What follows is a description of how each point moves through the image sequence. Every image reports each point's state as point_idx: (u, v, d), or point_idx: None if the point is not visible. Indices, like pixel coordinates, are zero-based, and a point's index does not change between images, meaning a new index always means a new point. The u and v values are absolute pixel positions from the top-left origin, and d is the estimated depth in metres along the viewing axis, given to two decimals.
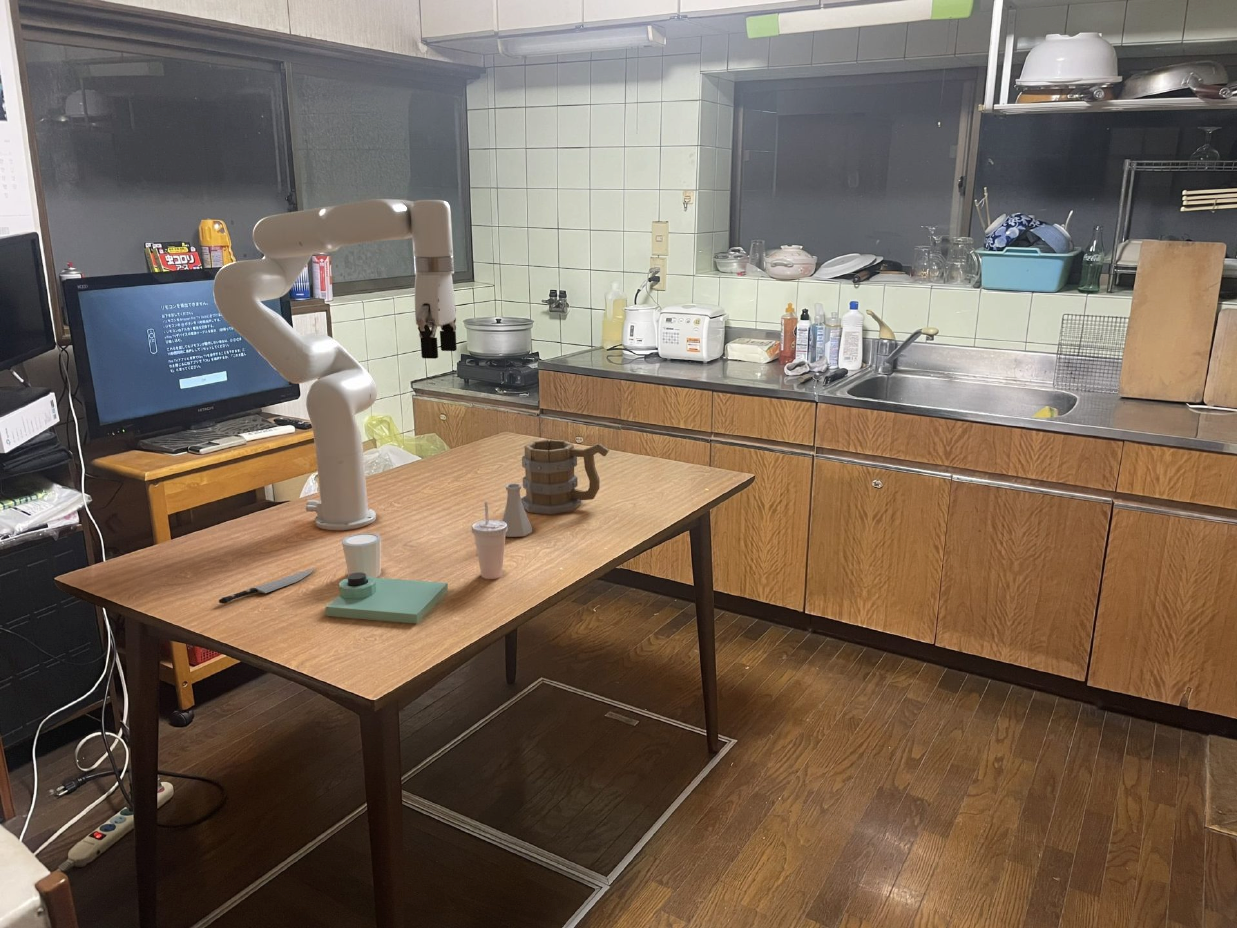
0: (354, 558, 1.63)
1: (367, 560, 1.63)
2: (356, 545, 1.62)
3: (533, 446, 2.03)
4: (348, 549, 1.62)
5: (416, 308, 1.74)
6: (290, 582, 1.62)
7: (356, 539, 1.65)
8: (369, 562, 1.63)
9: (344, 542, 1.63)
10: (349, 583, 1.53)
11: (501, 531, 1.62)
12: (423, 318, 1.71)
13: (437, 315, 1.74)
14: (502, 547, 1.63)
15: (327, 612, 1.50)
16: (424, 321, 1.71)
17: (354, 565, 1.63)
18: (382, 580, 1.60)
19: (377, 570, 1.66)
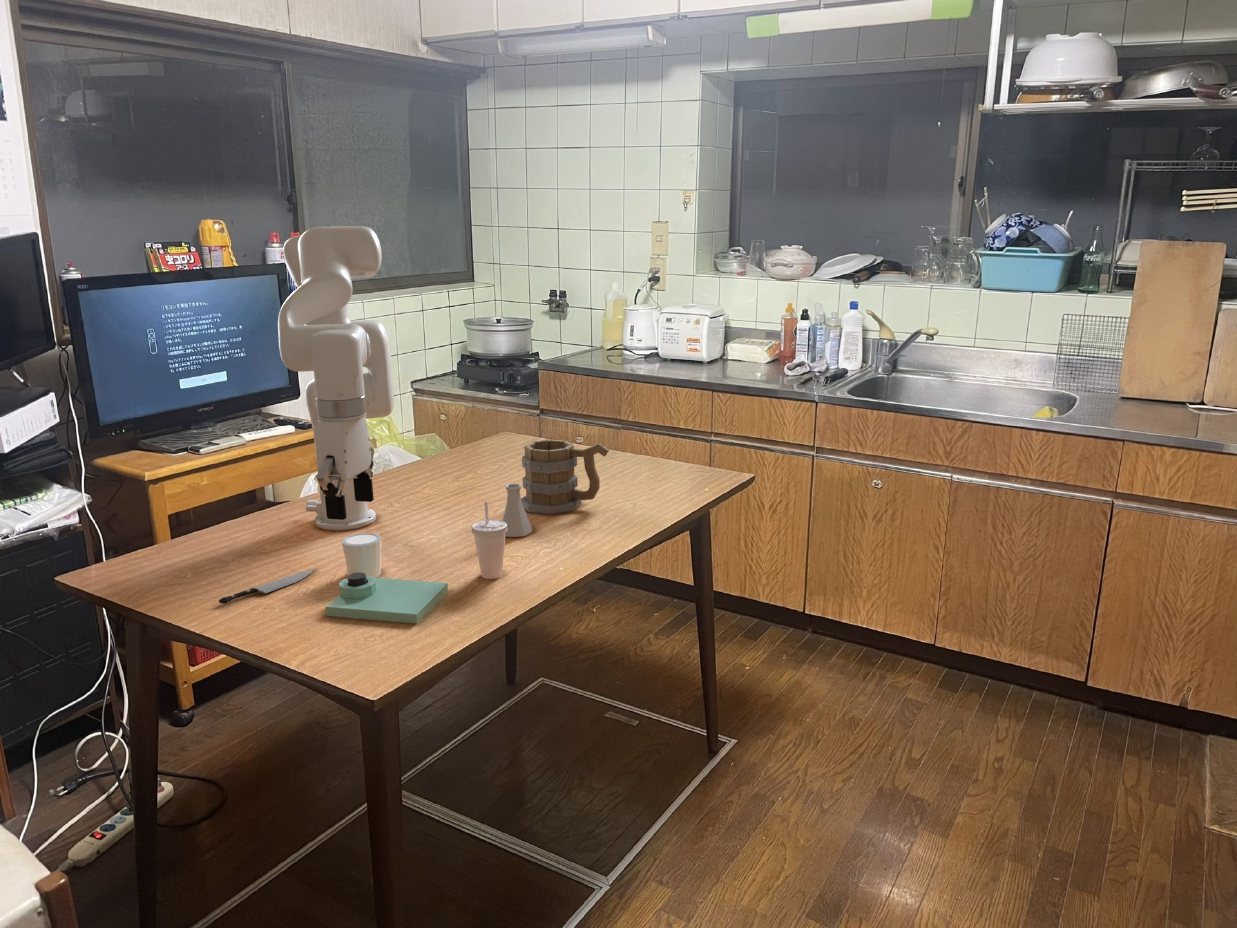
0: (354, 558, 1.63)
1: (367, 560, 1.63)
2: (356, 545, 1.62)
3: (533, 446, 2.03)
4: (348, 549, 1.62)
5: (318, 460, 1.44)
6: (290, 582, 1.62)
7: (356, 539, 1.65)
8: (369, 562, 1.63)
9: (344, 542, 1.63)
10: (349, 583, 1.53)
11: (501, 531, 1.62)
12: (325, 477, 1.41)
13: (343, 469, 1.44)
14: (502, 547, 1.63)
15: (327, 612, 1.50)
16: (326, 479, 1.42)
17: (354, 565, 1.63)
18: (382, 580, 1.60)
19: (377, 570, 1.66)
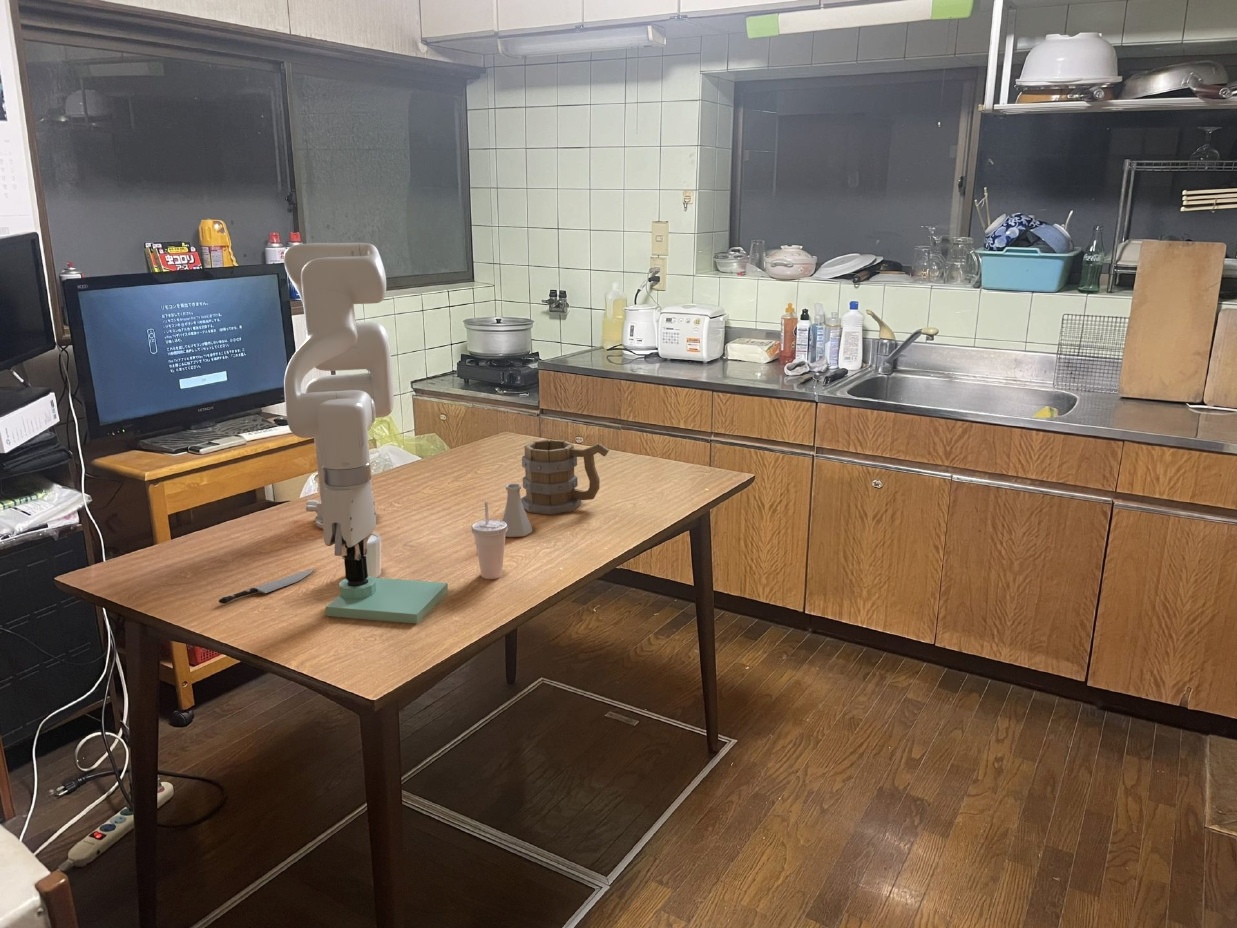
0: None
1: (367, 560, 1.63)
2: None
3: (533, 446, 2.03)
4: None
5: (324, 527, 1.47)
6: (290, 582, 1.62)
7: None
8: (369, 562, 1.63)
9: None
10: None
11: (501, 531, 1.62)
12: (343, 552, 1.48)
13: (349, 536, 1.47)
14: (502, 547, 1.63)
15: (327, 612, 1.50)
16: (344, 552, 1.48)
17: None
18: (382, 580, 1.60)
19: (377, 570, 1.66)
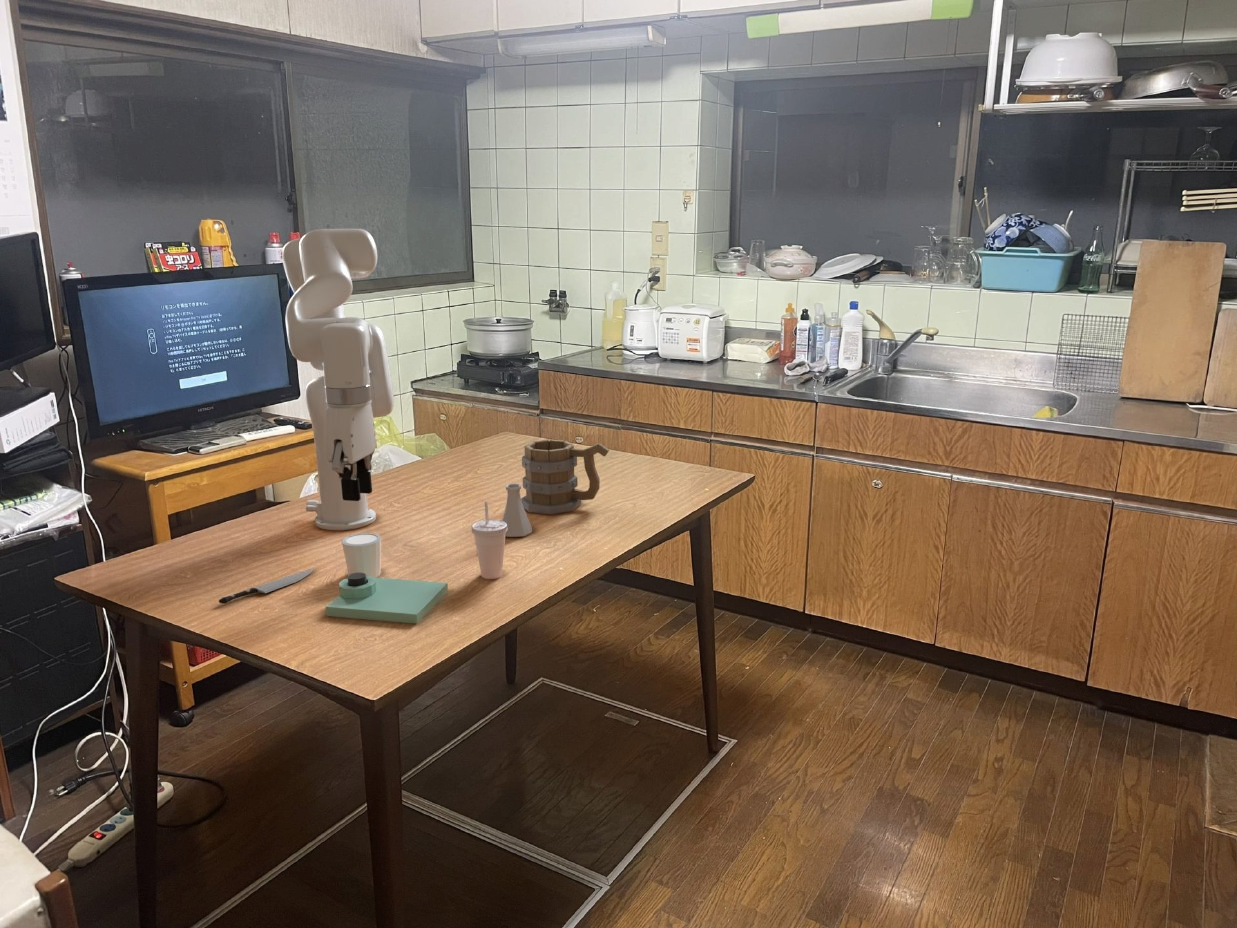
0: (354, 558, 1.63)
1: (367, 560, 1.63)
2: (356, 545, 1.62)
3: (533, 446, 2.03)
4: (348, 549, 1.62)
5: (327, 444, 1.56)
6: (290, 582, 1.62)
7: (356, 539, 1.65)
8: (369, 562, 1.63)
9: (344, 542, 1.63)
10: (349, 583, 1.53)
11: (501, 531, 1.62)
12: (340, 466, 1.55)
13: (350, 452, 1.55)
14: (502, 547, 1.63)
15: (327, 612, 1.50)
16: (341, 468, 1.55)
17: (354, 565, 1.63)
18: (382, 580, 1.60)
19: (377, 570, 1.66)
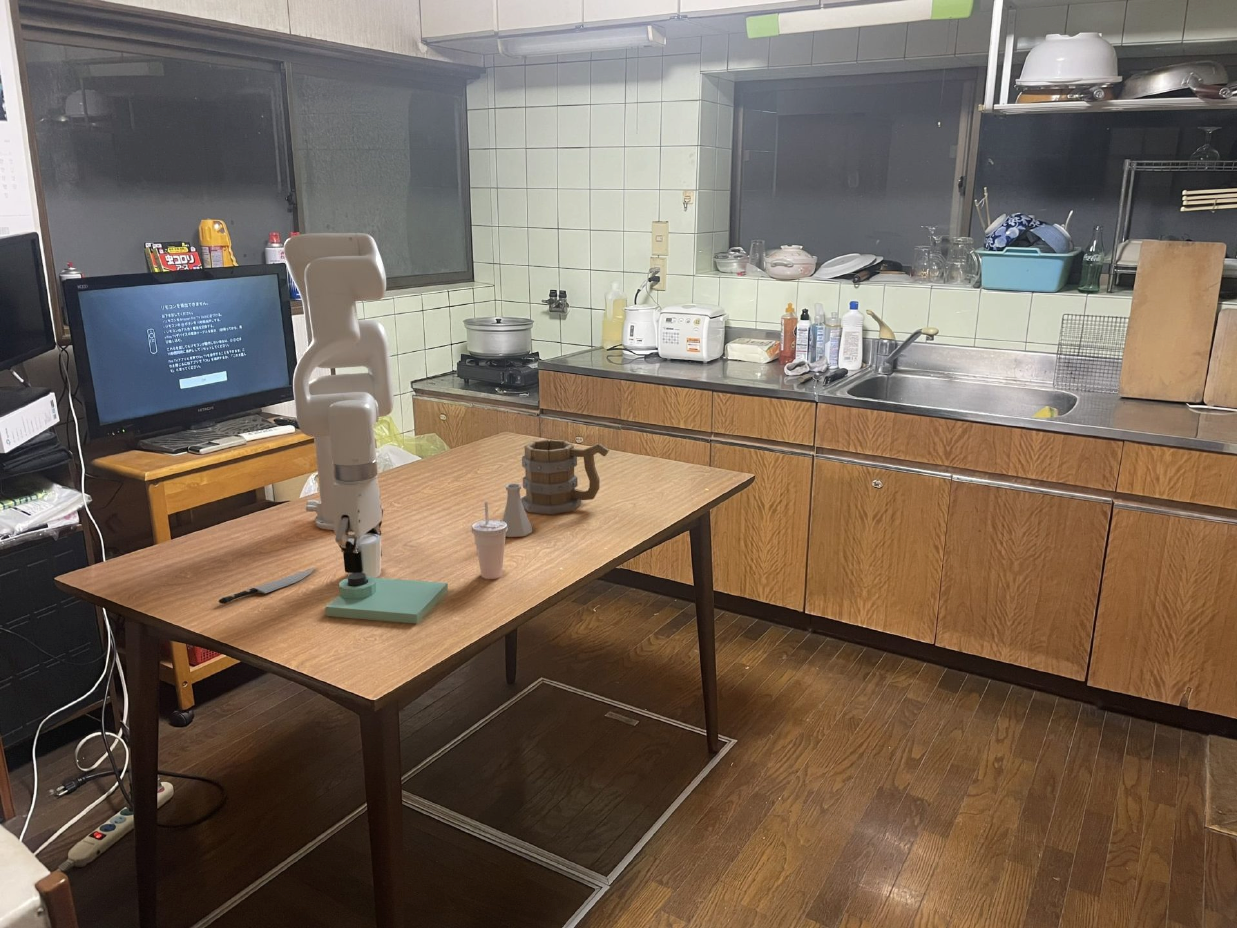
0: None
1: (367, 560, 1.63)
2: None
3: (533, 446, 2.03)
4: None
5: (334, 519, 1.59)
6: (290, 582, 1.62)
7: None
8: (369, 562, 1.63)
9: None
10: (349, 583, 1.53)
11: (501, 531, 1.62)
12: (343, 538, 1.57)
13: (357, 527, 1.59)
14: (502, 547, 1.63)
15: (327, 612, 1.50)
16: (344, 540, 1.58)
17: None
18: (382, 580, 1.60)
19: (377, 570, 1.66)
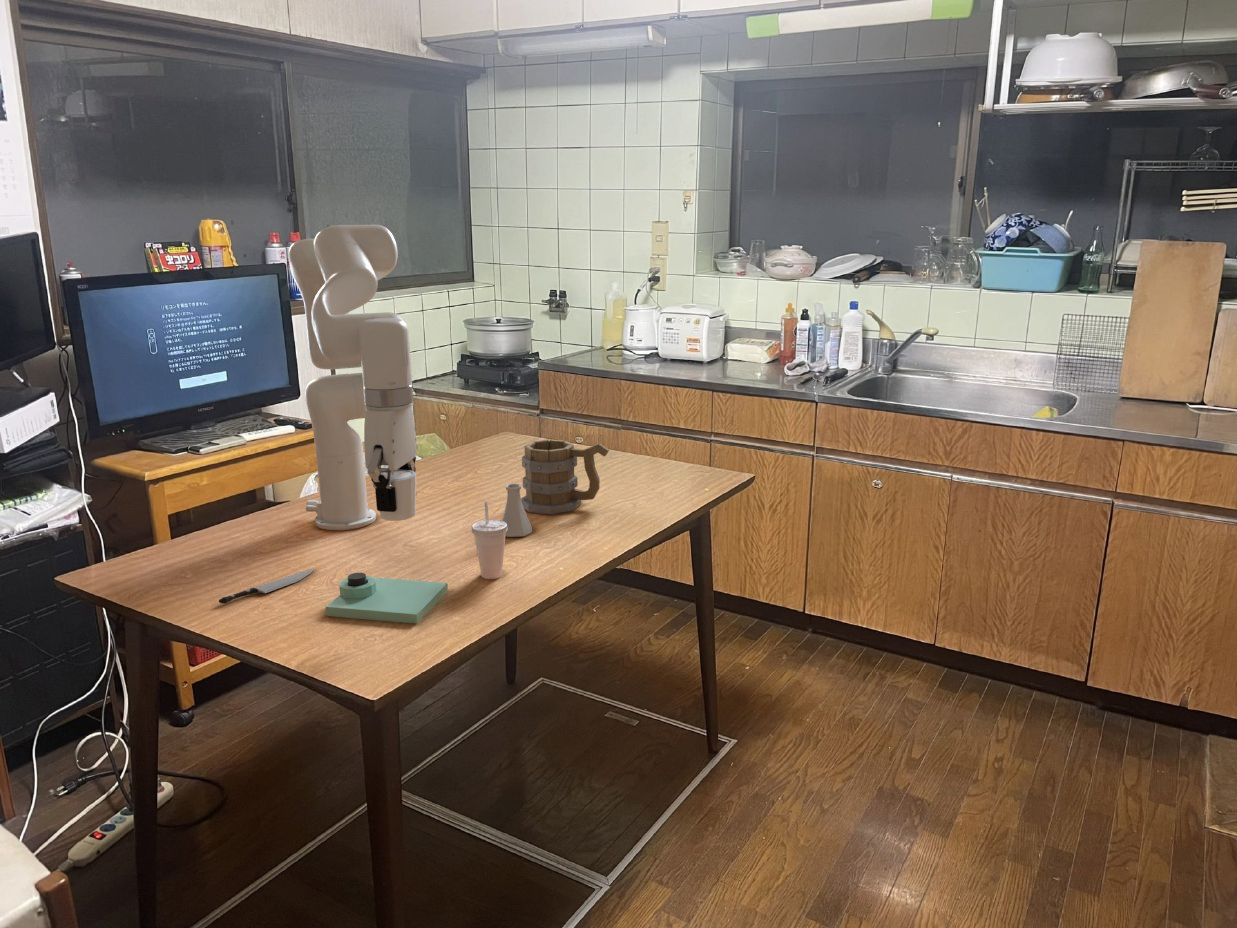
0: None
1: (401, 497, 1.47)
2: None
3: (533, 446, 2.03)
4: None
5: (366, 450, 1.43)
6: (290, 582, 1.62)
7: None
8: (404, 500, 1.47)
9: None
10: (349, 583, 1.53)
11: (501, 531, 1.62)
12: (376, 471, 1.41)
13: (391, 459, 1.43)
14: (502, 547, 1.63)
15: (327, 612, 1.50)
16: (377, 473, 1.41)
17: None
18: (382, 580, 1.60)
19: (412, 509, 1.49)
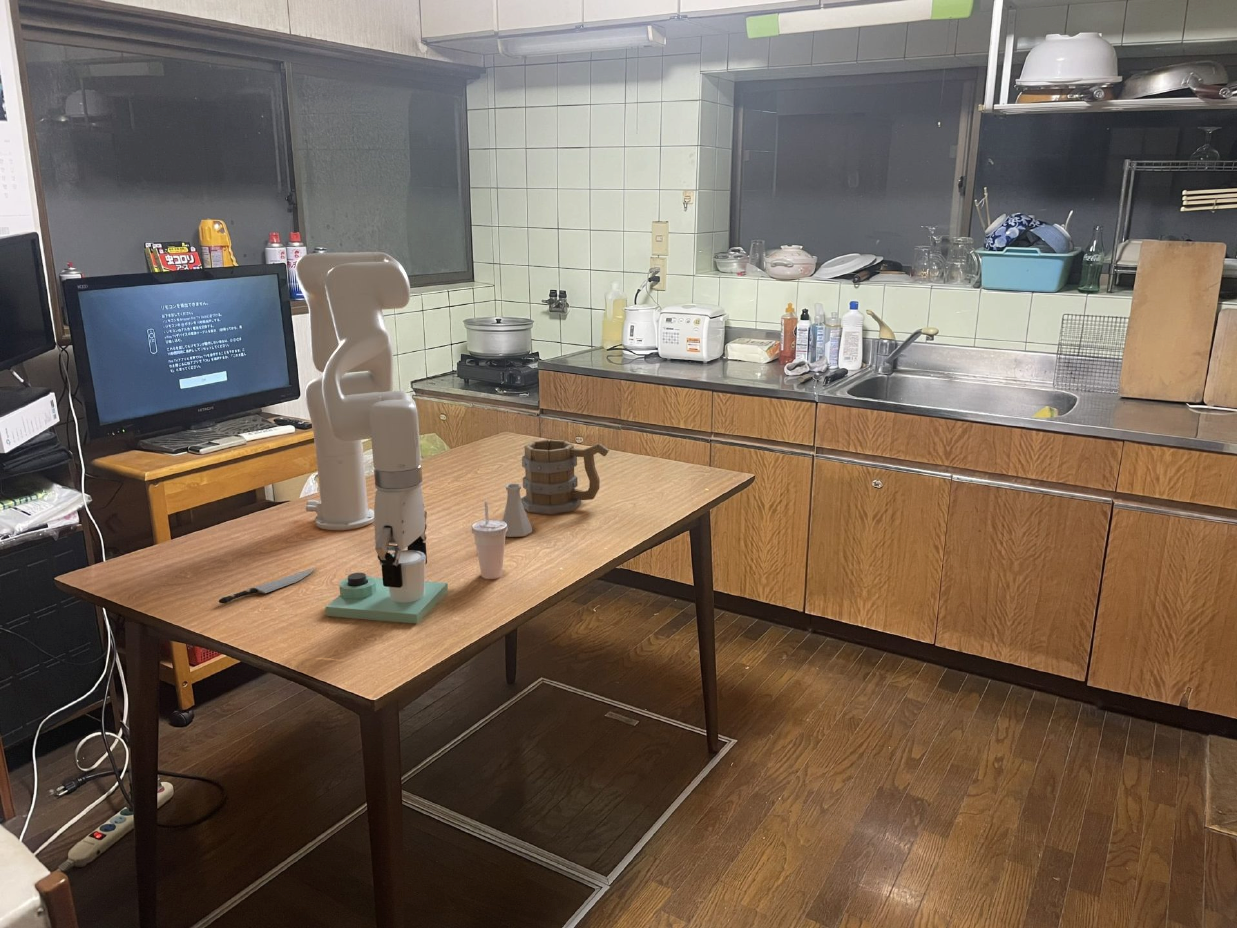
0: None
1: (411, 580, 1.50)
2: None
3: (533, 446, 2.03)
4: None
5: (376, 530, 1.45)
6: (290, 582, 1.62)
7: None
8: (413, 582, 1.50)
9: None
10: (349, 583, 1.53)
11: (501, 531, 1.62)
12: (384, 547, 1.43)
13: (401, 539, 1.45)
14: (502, 547, 1.63)
15: (327, 612, 1.50)
16: (385, 550, 1.43)
17: None
18: (382, 580, 1.60)
19: (422, 590, 1.52)
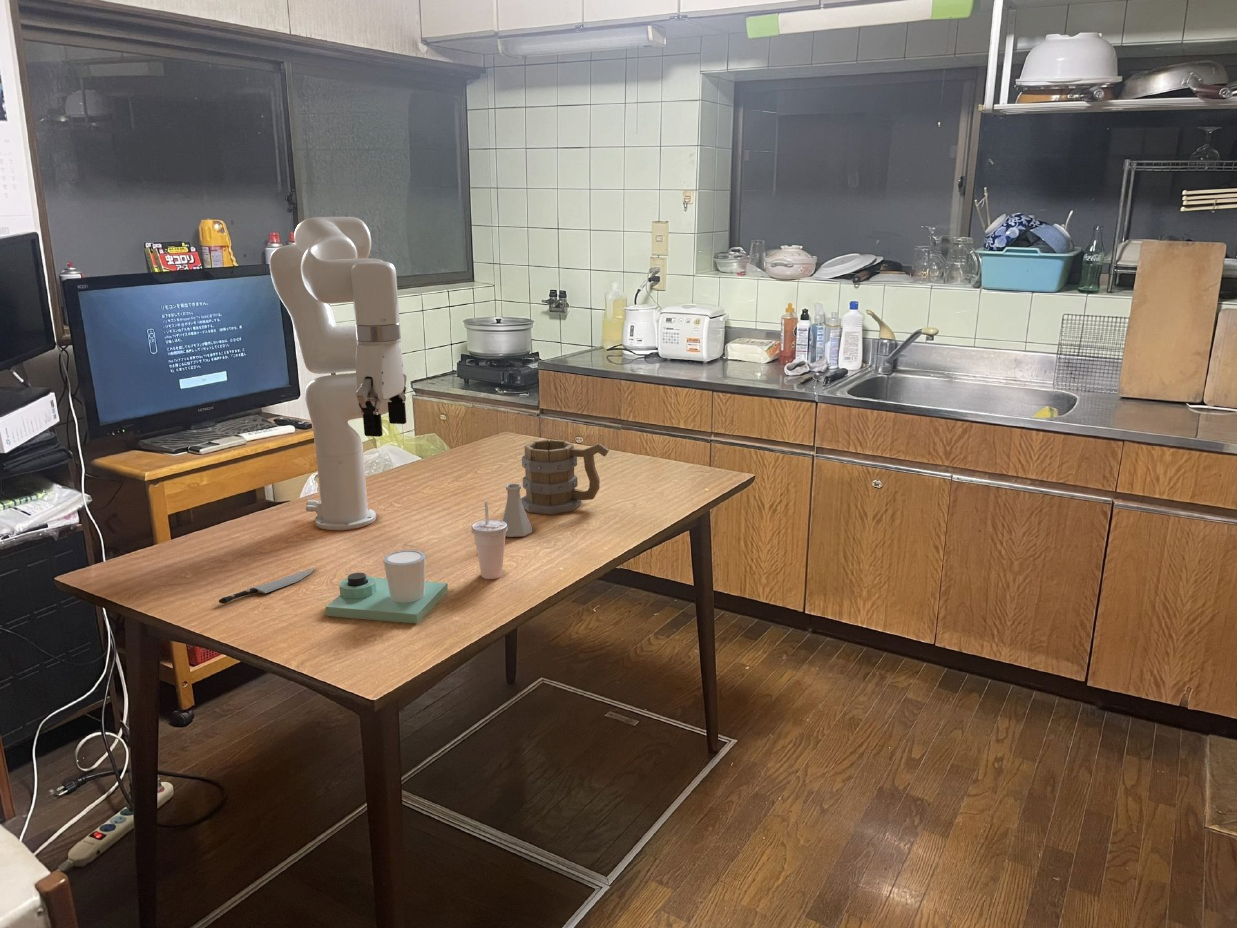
0: (397, 578, 1.49)
1: (411, 580, 1.50)
2: (399, 564, 1.48)
3: (533, 446, 2.03)
4: (390, 568, 1.49)
5: (357, 381, 1.57)
6: (290, 582, 1.62)
7: (398, 556, 1.52)
8: (413, 582, 1.50)
9: (386, 560, 1.50)
10: (349, 583, 1.53)
11: (501, 531, 1.62)
12: (364, 394, 1.54)
13: (381, 389, 1.57)
14: (502, 547, 1.63)
15: (327, 612, 1.50)
16: (365, 397, 1.54)
17: (397, 586, 1.50)
18: (382, 580, 1.60)
19: (422, 590, 1.52)
